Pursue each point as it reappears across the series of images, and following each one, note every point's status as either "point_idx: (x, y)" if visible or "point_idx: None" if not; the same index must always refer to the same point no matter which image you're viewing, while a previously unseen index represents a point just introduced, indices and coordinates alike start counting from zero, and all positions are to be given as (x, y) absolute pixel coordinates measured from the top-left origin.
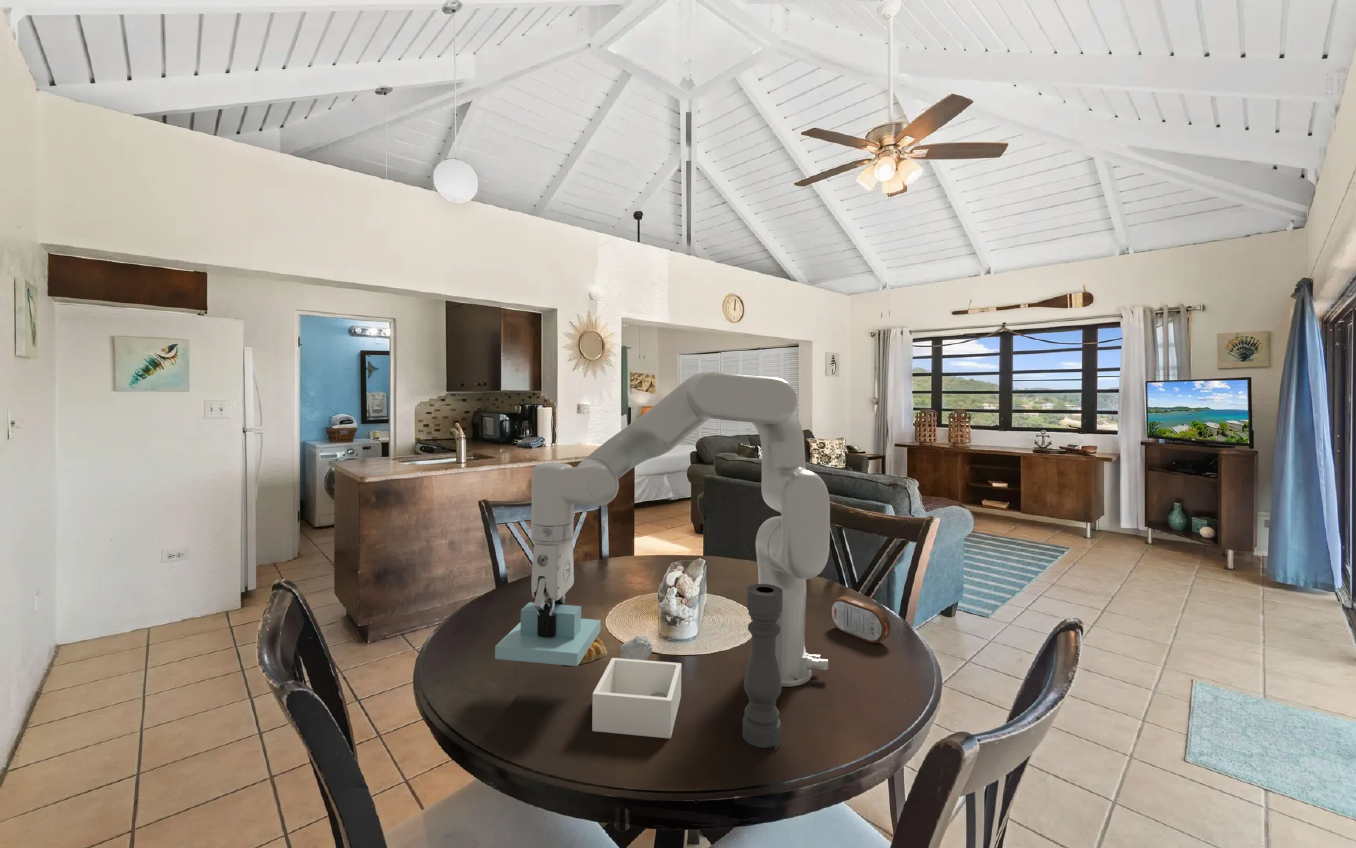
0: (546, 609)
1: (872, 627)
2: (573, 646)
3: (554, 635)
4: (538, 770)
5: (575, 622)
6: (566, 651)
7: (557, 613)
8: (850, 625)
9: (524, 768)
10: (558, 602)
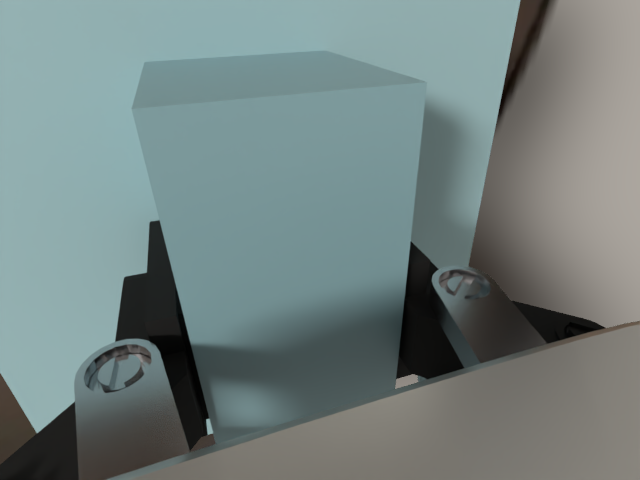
0: (591, 325)
1: None
2: (437, 6)
3: None
4: (539, 3)
5: (344, 68)
6: (504, 28)
7: (408, 260)
8: None
9: (528, 45)
10: (188, 385)
